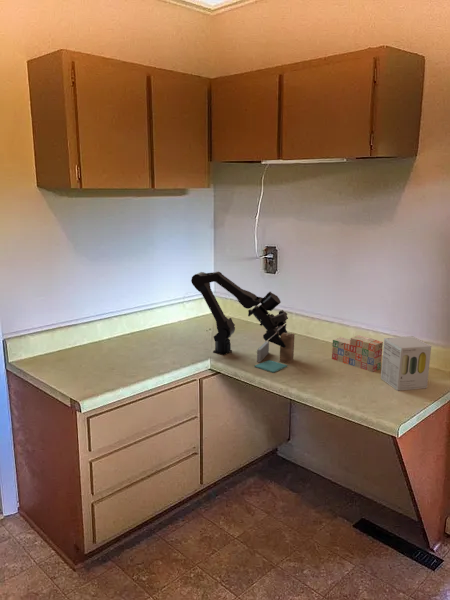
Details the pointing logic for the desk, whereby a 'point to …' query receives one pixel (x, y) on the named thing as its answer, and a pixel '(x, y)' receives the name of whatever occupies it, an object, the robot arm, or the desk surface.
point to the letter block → (287, 348)
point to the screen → (262, 351)
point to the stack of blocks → (358, 352)
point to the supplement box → (405, 363)
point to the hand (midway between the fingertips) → (287, 344)
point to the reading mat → (271, 366)
